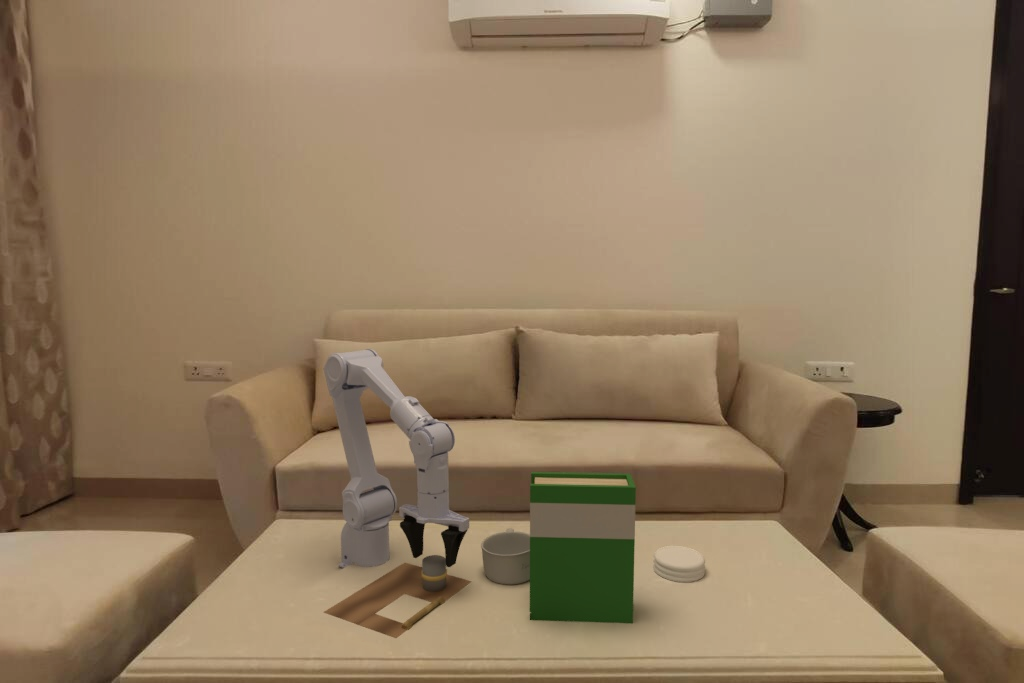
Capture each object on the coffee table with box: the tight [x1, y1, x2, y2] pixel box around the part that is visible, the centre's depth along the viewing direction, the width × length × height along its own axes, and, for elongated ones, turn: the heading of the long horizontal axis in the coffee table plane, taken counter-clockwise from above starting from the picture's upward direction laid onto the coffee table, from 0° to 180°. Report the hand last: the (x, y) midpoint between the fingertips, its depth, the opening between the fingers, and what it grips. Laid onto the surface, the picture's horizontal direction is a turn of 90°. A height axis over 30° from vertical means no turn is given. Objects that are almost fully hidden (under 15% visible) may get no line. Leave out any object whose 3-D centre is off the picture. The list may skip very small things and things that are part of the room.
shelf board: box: [323, 562, 472, 639], centre depth 118 cm, size 16×22×2 cm
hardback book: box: [529, 471, 637, 624], centre depth 115 cm, size 18×7×24 cm, turn 87°
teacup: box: [480, 527, 530, 586], centre depth 128 cm, size 14×11×8 cm
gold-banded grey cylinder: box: [421, 554, 448, 592], centre depth 122 cm, size 5×5×5 cm
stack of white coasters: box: [653, 545, 706, 583], centre depth 131 cm, size 10×10×4 cm
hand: (434, 560), depth 121 cm, fingers open, 7 cm apart
